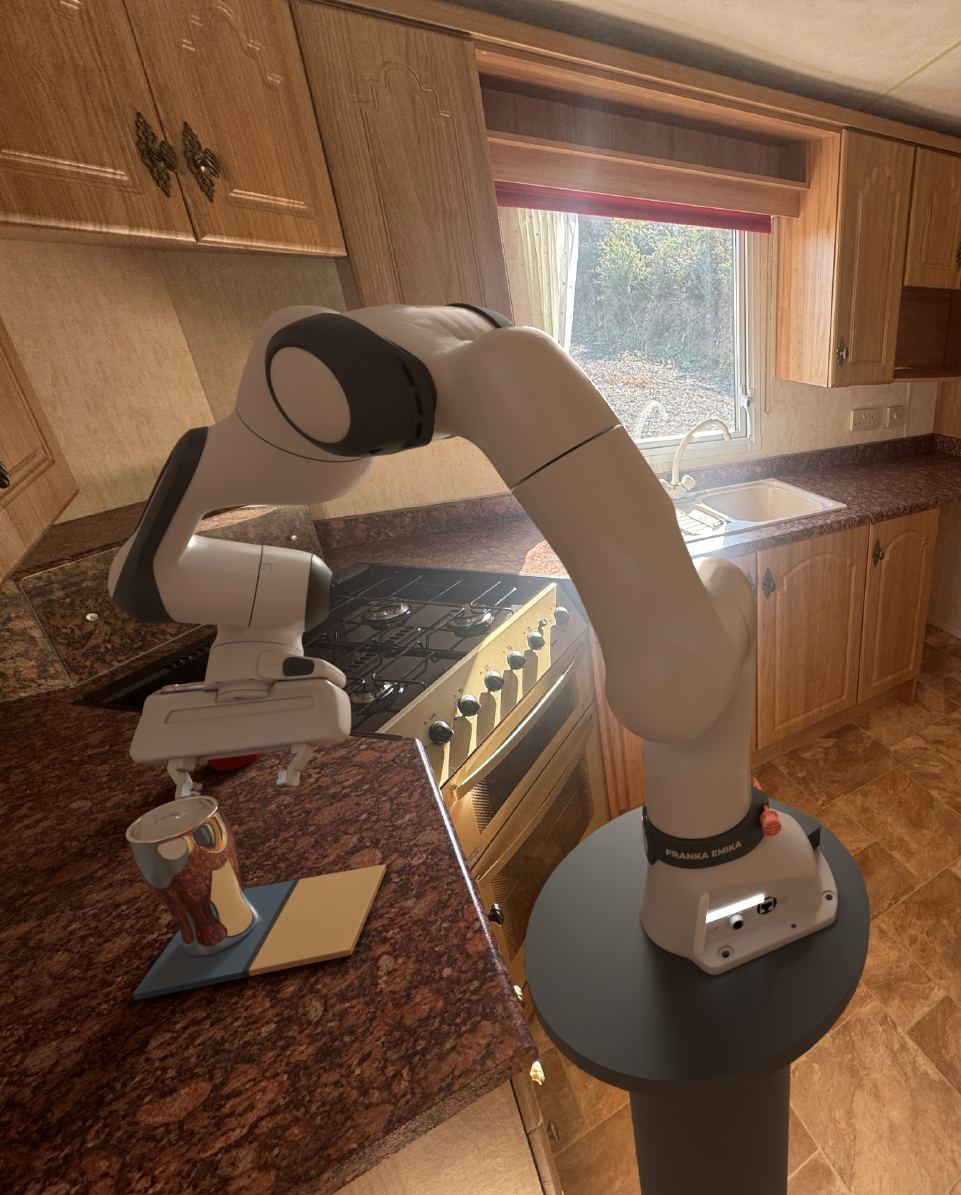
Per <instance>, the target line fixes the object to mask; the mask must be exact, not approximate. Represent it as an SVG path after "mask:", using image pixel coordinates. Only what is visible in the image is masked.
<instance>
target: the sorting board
mask: <svg viewBox="0 0 961 1195" xmlns="http://www.w3.org/2000/svg"><path fill="white" fill-rule="evenodd" d="M386 871H387V866H386V864H385V863H384V864H379V865H378V864H377V865H373V866H367V867H361V868H356V869H351V870H345V871H338V872H332V873H327V874H322V875H316V876H311V877H305V878H297V879H293V880H286V881H281V882H275V883H270V884H265V885H258V886H253V887H252V886H251V887H248V888H243V889H244V892H245V894H246V896H247V897H248V899H249V900H250V901H251V902H252V903H253V905H254V906H255V907H256V908H257V910H258V912H259V919H258V922H257V924H256V925H255V927H254V928H253V929H252V930H251V932H250V933H249V934H248V935H246V936H245V937H244V938H243V939H241V940H240V941H239V942H237V943H236V944H234V945H232V946H230V947H229V948H227V949H224V950H222V951H220V952H217V953H214V954H211V955H206V956H190V955H188V954H186V953H185V952H184V950H183V947H182V938H181V932H180V928H179V929H178V931H177V932H176V933H175V934H174V936H173V937H172V939H171V940H170V941H169V943H168V944H167V945H166V947H165V948H164V950H163V951H162V953H161V954H160V955H159V957H158V958H157V960H156V961H155V962H154V964H153V965H152V967H151V968H150V969H149V970H148V972H147V973H146V974H145V976H144V978H143V979H142V981H141V982H140V983H139V984H138V985H137V987H136V989H135V990H134V992H132V994H131V996H132V997H133V1000H134V1001H139V1000H143V999H148V998H153V997H159V996H163V995H168V994H173V993H177V992H181V991H182V992H183V991H186V990H192V989H196V988H201V987H205V986H206V987H207V986H211V985H215V984H220V983H226V982H229V981H234V980H239V979H245V978H248V977H252V976H257V975H262V974H267V973H273V972H276V971H281V970H287V969H291V968H295V967H300V966H305V965H311V964H315V963H320V962H325V961H329V960H334V959H339V958H345V957H348V956H349V957H350V956H352V955H353V953H354V950H355V948H356V945H357V943H358V940H359V939H360V936H361V933H362V930H363V928H364V927H365V926H364V925H365V923H366V921H367V918H368V915H369V914H370V911H371V908H372V906H373V903H374V901H375V898H376V896H377V893H378V892H379V891H378V890H379V888H380V886H381V884H382V882H383V879H384V876H385V874H386Z"/></svg>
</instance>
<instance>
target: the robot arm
mask: <svg viewBox="0 0 961 1195" xmlns="http://www.w3.org/2000/svg"><path fill="white" fill-rule="evenodd" d="M236 393H237V394H236V400H235V405H234V408H233V410H232V411H231V412H230V413H229V414H228V415H227V416H225V417H224V418H223V419H221V420H220V421H218V422H216V423H213V424H212V425H209V426H208V425H205V426H199V427H194V428H189V429H188V430H186V432H184V433H183V435H182V436H181V437H180V438H179V439H178V440H177V441H176V443H175V444H174V446H173V448H172V450H171V451H170V453H169V455H168V457H167V459H166V461H165V463H164V465H163V467H162V469H161V470H160V473H159V475H158V476H157V479H156V481H155V483H154V485H153V487H152V490H151V492H150V493H149V496H148V498H147V500H146V502H145V505H144V508H142V512H141V514H140V516H139V518H138V521H137V522H136V525H135V527H134V529H133V531H132V532H131V535H130V536H129V538H128V540H126V542H125V543H124V544H123V545H122V546H121V547H120V549H119V550H118V551H117V553H116V555H115V556H114V558H113V561H112V562H111V565H110V569H109V573H108V577H107V578H108V579H107V588H108V589H107V590H108V592H109V595H110V598H111V599H110V601H111V602H112V603H113V604H114V605H115V606H116V607H117V608H118V609H119V610H121V611H122V612H123V613H124V614H126V615H128V616H129V617H130V618H132V619H133V620H135V621H137V622H139V623H140V624H171V625H172V624H173V625H175V624H177V625H180V624H197V625H198V624H199V625H207V626H208V625H210V626H217V627H216V628H217V634H216V637H215V640H214V641H213V643H212V644H211V646H210V649H209V655H208V659H207V660H208V661H207V666H206V671H205V676H204V681H196V682H190V683H185V684H184V683H183V684H176V683H175V684H168V685H164V686H163V687H162V688H161V689H158V690H156V691H154V692H152V694H150V695H148V696H147V697H146V698H145V700H144V702H143V708H142V712H141V716H140V718H139V721H138V724H137V726H136V729H135V731H134V735H133V737H132V740H131V743H130V747H129V751H128V755H129V757H130V758H131V760H133V761H134V762H135V763H137V764H140V765H143V766H148V767H154V768H155V767H162V766H163V767H164V766H166V772H168V775H169V776H170V777H171V779H172V781H173V783H174V785H176V789H175V794H174V801H175V800H179V799H183V798H187V797H193V796H202V794H201V792H203V786H204V784H203V783H197V782H194V781H193V780H192V778H191V776H190V774H189V772H194V771H195V766H196V762H202V761H203V762H204V761H207V760H212V759H220V758H228V757H236V756H244V755H252V754H260V753H261V754H267V753H276V752H282V751H290V753H291V754H292V755H294V757H293V759H292V760H291V762H290V763H289V764H288V766H287V767H286V769H281V770H277V775H276V777H277V778H278V779H277V780H276V787H277V788H281V789H285V788H286V789H287V788H294V787H298V786H299V784H300V776H301V772H302V771H303V770H304V768H305V767H306V766H307V765H308V763H309V762H310V761H311V759H312V758H313V756H314V751H315V750H314V749H315V747H322V746H330V745H338V744H342V743H343V742H344V741H345V740H346V739H347V738H348V737H349V736H350V734H351V729H352V709H351V701H350V700H351V699H350V697H349V695H348V693H347V692H346V691H344V690H343V689H344V688H345V686H346V683H347V676H346V675H345V673H344V672H343V671H341V669H339V668H338V667H336V666H335V665H333V664H331V662H328V661H326V660H324V659H321V658H317V657H316V658H315V657H309V656H305V652H304V651H305V650H304V646H303V642H302V640H303V639H302V637H303V634H304V633H307V632H310V631H311V630H313V629H314V628H316V627H317V626H319V625H320V624H321V623H323V622H325V621H326V620H327V619H328V618H329V614H330V586H331V583H332V581H333V577H334V576H333V575H334V574H333V572H332V570H331V569H330V568H329V567H328V566H327V564H326V563H325V562H324V561H323V560H322V559H321V558H320V557H318V556H317V555H316V554H314V553H311V552H308V551H303V550H299V549H293V548H286V547H280V546H272V545H265V544H263V545H261V544H256V543H255V544H254V543H246V542H239V541H233V540H228V539H227V540H226V539H220V538H213V537H205V536H201V535H199V534H195V533H196V531H197V529H198V527H199V525H200V524H201V521H202V519H203V518H204V516H205V515H206V514H208V513H210V512H213V511H217V510H220V509H225V508H233V507H244V506H245V507H246V506H295V507H296V506H309V505H310V506H311V505H317V504H322V503H326V502H330V501H333V500H336V499H338V498H342V497H343V496H345V495H347V494H349V493H351V492H352V491H353V490H355V489H356V488H357V487H359V485H360V484H361V483H362V482H363V481H364V480H365V478H366V476H367V474H368V473H369V471H370V470H371V468H372V465H373V463H374V461H375V458H376V457H381V456H389V455H395V454H399V453H402V452H405V451H410V450H413V449H418V448H419V449H420V448H422V447H423V448H424V447H427V446H428V445H430V444H431V443H432V442H435V441H440V440H450V439H453V438H456V437H460V438H461V439H464V440H466V441H468V442H470V443H472V444H473V445H475V447H477V448H478V449H479V450H480V451H481V452H482V454H484V456H485V458H487V460H488V461H489V462H490V464H491V465H492V467H493V468H494V469H495V471H496V473H497V474H498V475H499V477H500V478H501V480H502V481H503V482H504V484H505V485H506V487H507V489H508V490H509V491H510V492H511V494H512V495H513V497H514V498H515V499H516V501H517V502H518V503H519V505H520V507H522V509H523V510H524V512H525V513H526V515H527V516H528V517H529V519H530V520H531V521H532V523H533V525H534V526H535V527H536V528H537V530H538V531H539V533H540V534H541V535H542V537H543V539H544V540H545V541H546V542H547V544H548V545H549V547H550V548H551V550H552V551H553V552H554V554H555V555H556V557H557V558H558V560H559V561H560V563H561V564H562V566H563V568H564V570H565V572H566V573H567V575H568V577H569V578H570V581H571V582H572V584H573V587H574V589H575V591H576V593H577V596H578V598H579V600H580V603H581V605H582V608H583V610H584V612H585V614H586V617H587V620H588V622H589V624H590V627H591V630H592V632H593V635H594V637H595V640H596V643H597V646H598V649H599V652H600V656H601V660H602V666H603V676H604V693H605V698H606V702H607V705H608V707H609V709H610V711H611V713H612V714H613V717H615V719H616V720H617V721H618V722H619V723H620V724H621V726H623V727H624V728H625V729H626V730H627V731H629V732H630V733H632V734H633V735H635V736H637V737H639V738H640V739H641V743H640V745H641V746H640V748H641V749H640V750H641V763H642V773H643V774H642V776H643V786H644V798H645V799H644V802H643V805H642V806H643V816H642V832H643V842H644V850H645V853H646V856H647V859H648V864H647V876H646V882H645V887H644V891H643V895H642V898H641V901H640V909H639V913H640V920H641V924H642V926H643V929H644V930H645V932H646V934H647V935H648V936H649V938H650V939H651V940H652V941H653V942H654V943H655V944H657V945H658V946H659V947H661V948H663V949H664V950H666V951H668V952H671V953H673V954H677V955H680V956H683V957H686V958H688V959H690V960H692V961H693V962H694V963H695V964H696V965H697V966H698V967H700V968H701V969H702V970H703V971H705V972H706V973H708V974H711V975H718V974H721V973H723V972H725V971H728V970H730V969H732V968H734V967H737V966H739V965H741V964H743V963H746V962H748V961H750V960H753V959H755V958H757V957H759V956H762V955H764V954H766V953H768V952H771V951H773V950H775V949H777V948H780V947H782V946H784V945H786V944H789V943H791V942H793V941H795V940H798V939H800V938H802V937H804V936H807V935H809V934H811V933H813V932H816V931H818V930H820V929H822V928H825V927H827V926H829V925H831V924H832V923H834V921H835V919H836V916H837V912H838V895H837V888H836V884H835V880H834V877H833V874H832V872H831V869H830V867H829V865H828V863H827V861H826V859H825V858H824V856H823V854H822V853H821V851H820V850H819V849H818V846H819V845H820V833H821V826H820V825H818V824H817V823H815V822H814V821H812V820H811V819H809V818H807V817H806V816H804V815H803V814H801V813H800V812H798V811H797V810H795V809H794V810H793V811H791V812H790V813H788V814H785V813H782V812H779V811H776V810H773V809H771V808H769V801H768V798H769V797H768V795H767V793H766V792H765V791H763V790H762V788H761V784H760V783H759V781H758V780H757V778H756V777H753V785H752V764H751V763H752V757H751V756H752V748H751V747H752V745H751V744H752V723H753V709H754V708H753V707H754V692H755V690H754V689H755V674H756V673H755V672H756V646H757V620H758V619H757V615H758V614H757V603H756V596H755V592H754V589H753V586H752V583H751V581H750V579H749V578H748V576H747V575H746V573H745V572H744V571H743V570H742V569H741V568H740V567H738V565H736V564H735V563H733V562H731V561H729V560H727V559H724V558H722V557H716V556H702V557H698V558H695V559H693V558H692V556H691V554H690V551H689V549H688V546H687V543H686V542H685V539H684V537H683V533H682V531H681V528H680V524H679V521H678V518H677V510H676V506H675V504H674V501H673V500H672V498H671V496H670V495H669V493H668V492H667V490H666V489H665V487H664V485H663V484H662V483H661V481H660V479H659V478H658V476H657V475H656V473H655V472H654V470H653V468H652V467H651V465H650V464H649V463H648V461H647V459H646V458H645V456H644V455H643V453H642V451H641V450H640V448H639V447H638V445H637V444H636V442H635V441H634V439H633V437H632V435H630V433H629V432H628V430H627V428H626V427H625V425H623V422H622V421H621V419H620V418H619V416H618V415H617V414H616V412H615V410H614V409H613V408H612V406H611V405H610V404H609V402H608V401H607V399H606V397H604V395H603V394H602V393H601V391H600V390H599V389H598V387H597V386H596V385H595V384H594V383H593V381H592V379H590V378H589V376H588V374H586V372H584V371H583V369H582V368H581V367H580V366H579V364H578V363H577V362H576V361H575V360H574V359H573V358H572V356H570V355H569V353H568V352H567V351H566V350H565V349H564V348H563V347H562V346H561V345H560V344H559V343H558V342H557V341H556V340H555V339H554V338H553V337H552V336H551V335H549V334H547V333H546V332H544V331H542V330H540V329H538V328H535V327H532V326H526V325H515V324H514V323H513V322H512V321H511V320H510V319H508V318H507V317H506V316H504V314H502V313H500V312H497V311H495V310H493V309H490V308H488V307H487V308H486V307H483V306H479V305H475V304H470V303H463V302H462V303H461V302H454V303H447V304H446V305H445V304H444V305H438V304H437V305H436V304H404V303H389V304H379V305H374V306H368V307H367V306H366V307H362V308H357V309H353V310H348V311H344V312H340V311H338V310H334V309H332V308H328V307H324V306H319V305H312V304H311V305H310V304H297V305H290V306H286V307H283V308H281V309H279V310H276V311H275V312H273V313H272V314H271V315H270V316H269V317H268V318H267V319H266V320H265V322H264V323H263V324H262V326H261V328H260V330H259V332H258V334H257V336H256V337H255V340H254V342H253V344H252V346H251V348H250V350H249V352H248V356H247V359H246V361H245V364H244V367H243V370H242V373H241V377H240V380H239V383H238V388H237V392H236ZM827 899H831V900H827ZM726 955H727V956H729V957H727V958H723V956H726Z"/></svg>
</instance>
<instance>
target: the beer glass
mask: <svg viewBox="0 0 961 1195" xmlns="http://www.w3.org/2000/svg"><path fill="white" fill-rule="evenodd" d="M125 838H126V840H127V842H128V846H129V849H130V853H131V856H132V858H133V862H134V864H135V866H136V870H137V872H138V873H139V876H140V878H141V879H142V881H143V883H144V884H145V885H146V887H147V889H149V891H150V892H151V894H152V895H153V896H154V897H155V898H156V899H157V900H158V902H159V903H160V904H162V906H163V907H164V908H165V909H166V910H167V911H168V912H169V913H170V915H171V916H172V917H173V918H174V919H175V921H176V923H177V926H178V928H179V929H180V932H181V938H182V947H183V950H184V952H185V953H186V954H188V955H190V956H206V955H211V954H214V953H217V952H220V951H222V950H224V949H227V948H229V947H230V946H232V945H234V944H236V943H237V942H239V941H240V940H241V939H243V938H244V937H245V936H246V935H248V934H249V933H250V932H251V930H252V929H253V928H254V927H255V925H256V924H257V922H258V919H259V912H258V910H257V908H256V907H255V906H254V905H253V903H252V902H251V901H250V900H249V899H248V897H247V896H246V894H245V892H244V889H245V888H244V886H243V880H242V870H241V869H242V868H241V860H240V859H241V858H240V852H239V848H238V842H237V839H236V837H235V834H234V831H233V829H232V827H231V824H230V823H229V820H228V819H227V817H226V815H225V813H224V812H223V809H222V808H221V806H220V804H219V802H218V800H217V799H216V798H215V797H213V796H211V795H210V796H209V795H201V796H193V797H187V798H183V799H179V800H175V799H174V800H172V801H169V802H167V803H164V804H162V805H160V806H158V807H155V808H152V809H151V810H149V811H148V812H145V813H144V814H143V815H141V816H140V817H137V819H135V821H133V822H132V823H131V824H130V825H129V826H128V828H127V829H126V831H125Z"/></svg>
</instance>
